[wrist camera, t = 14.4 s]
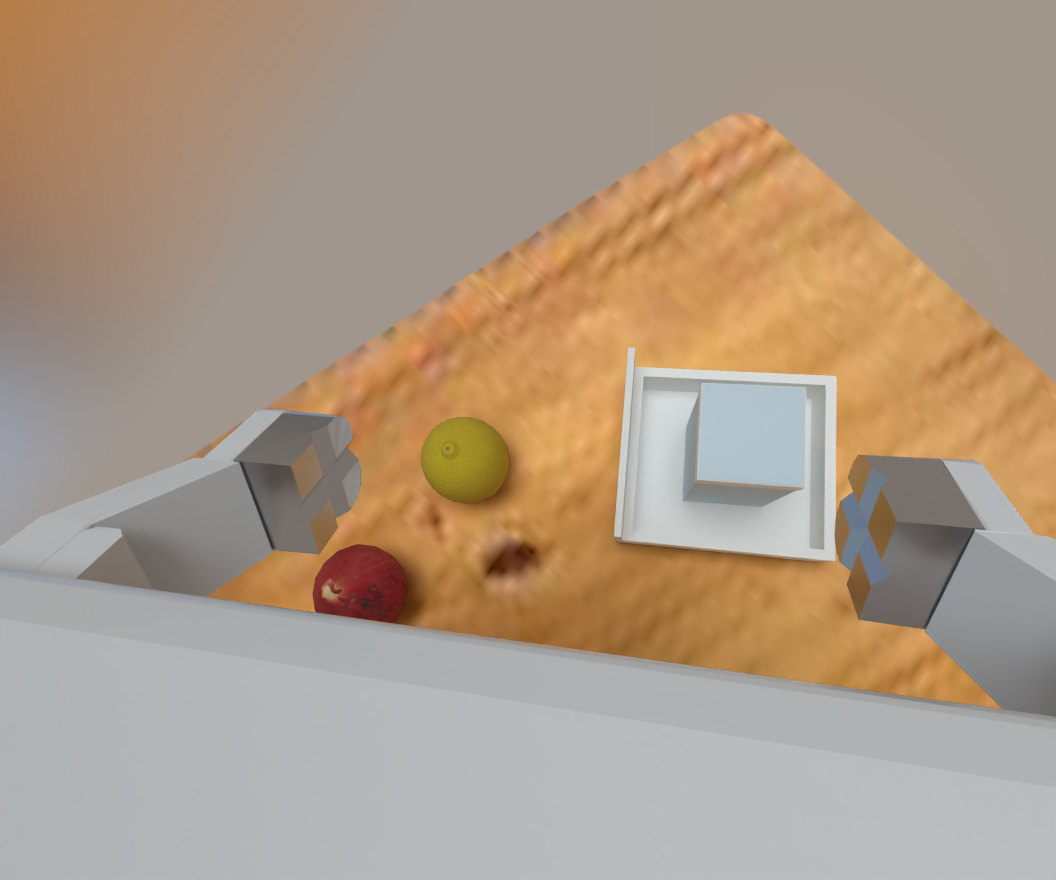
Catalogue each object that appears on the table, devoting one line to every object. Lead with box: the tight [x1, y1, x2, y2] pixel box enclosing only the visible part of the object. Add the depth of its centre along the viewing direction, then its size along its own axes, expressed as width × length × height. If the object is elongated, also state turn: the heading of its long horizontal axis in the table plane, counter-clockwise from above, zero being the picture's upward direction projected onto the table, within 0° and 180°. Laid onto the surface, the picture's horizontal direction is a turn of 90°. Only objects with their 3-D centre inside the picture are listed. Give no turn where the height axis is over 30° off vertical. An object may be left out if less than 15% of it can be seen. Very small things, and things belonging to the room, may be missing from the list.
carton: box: [682, 383, 806, 507], centre depth 35 cm, size 5×5×10 cm
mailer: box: [614, 348, 836, 562], centre depth 37 cm, size 11×13×7 cm
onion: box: [313, 544, 408, 623], centre depth 38 cm, size 6×6×8 cm
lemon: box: [421, 417, 509, 503], centre depth 39 cm, size 6×6×8 cm
